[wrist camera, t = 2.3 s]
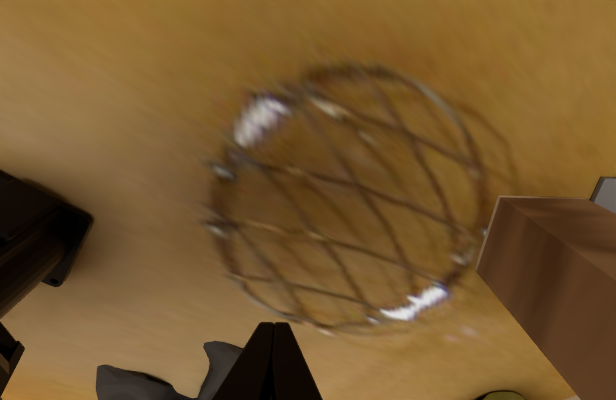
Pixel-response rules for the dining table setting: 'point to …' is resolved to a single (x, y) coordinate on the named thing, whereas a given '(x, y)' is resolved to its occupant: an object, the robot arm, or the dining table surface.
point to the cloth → (162, 396)
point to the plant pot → (503, 396)
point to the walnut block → (558, 283)
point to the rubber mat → (605, 193)
